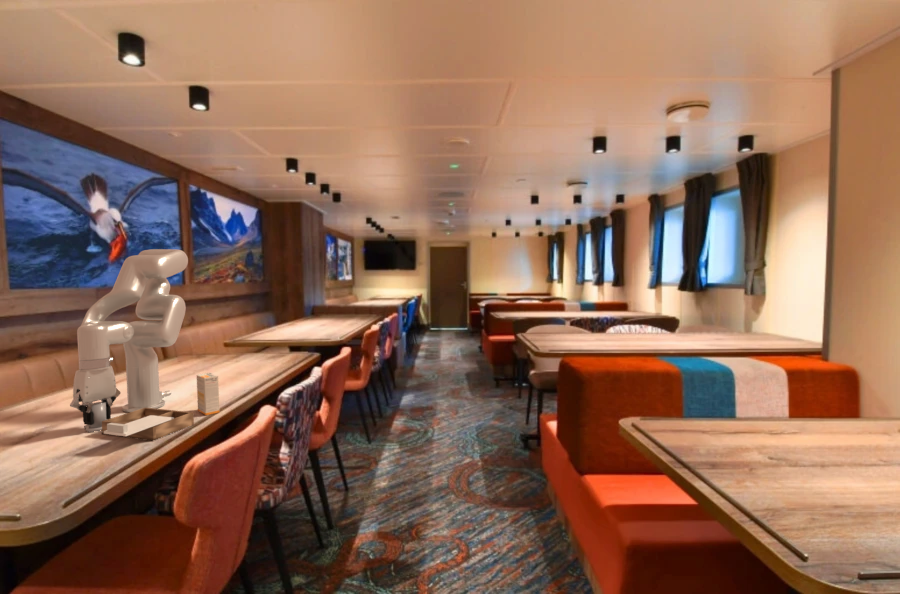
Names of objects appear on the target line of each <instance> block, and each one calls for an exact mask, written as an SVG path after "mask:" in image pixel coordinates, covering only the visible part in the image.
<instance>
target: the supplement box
mask: <svg viewBox="0 0 900 594" xmlns="http://www.w3.org/2000/svg"><path fill="white" fill-rule="evenodd" d="M219 386H220V385H219V375H216V374H214V373H212V372H207V373H206V372H205V373H200V374H196V391H197V392H196V393H197V396H196V397H197V412H200V413H201V414H203V415H204V416H210V415H215V414H217V413H218V414H219V413H220V390H219V389H220V388H219Z"/></svg>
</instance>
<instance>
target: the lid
mask: <svg viewBox="0 0 900 594" xmlns="http://www.w3.org/2000/svg"><path fill="white" fill-rule="evenodd" d="M169 420H171V417H163V416H154V415H150V416H147V417H144V418H141V419H138V420H135V421H132V422H129V423H126V424H118V423H109V424H107V430H106V431H104V434H111V435H110V436H112V435H119V436H128V435H131V434H134V433H136V432H139V431H142V430H145V429H147V428H150V427H153V426H155V425H158V424H161V423H164V422H166V421H169ZM104 434H103V435H104ZM119 436H118V437H119Z"/></svg>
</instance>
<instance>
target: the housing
mask: <svg viewBox="0 0 900 594" xmlns="http://www.w3.org/2000/svg"><path fill="white" fill-rule="evenodd" d="M150 415H154V416H163V417H171V420H169V421H166V422H164V423H161V424H158V425H155V426H153V427H150V428H147V429H145V430H142V431H139V432H136V433H134V434H131V435H128V436H123V437H122V438H127V437H130V439H135V438H138V439H137V440H143V439H147V440H146V441H151V440H155V441H157V440H159V439H158V438H160V439H162V438H164V437H163V436H165V437H166V435H167V436H169V435H171V434H170V433H172V434H174V433H176V431H177V432H178V430H179V431H181V429H182V430H184V429H187V428H189V427H191V426H194V425H195V420H194V419H195V416H194V412H191V411H185V410H184V411H182V410H173V409H163V408H156V409H155V408H142V409H139V410H136V411H133V412H126V413H125V414H120V415H118V416H115V417H112V418H111V419H108V420H104V421H102V431H101V434H102V435H104V431H106V430H107V424H109V423H118V424H126V423H129V422H132V421H135V420H138V419H141V418H144V417H147V416H150ZM188 426H189V427H188ZM186 427H187V428H186ZM183 428H184V429H183ZM173 432H174V433H173ZM168 434H169V435H168ZM108 436H112V435H111V434H109V435H108ZM116 437H119V435H117V436H116ZM161 437H162V438H161ZM156 439H157V440H156Z"/></svg>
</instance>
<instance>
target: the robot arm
mask: <svg viewBox="0 0 900 594" xmlns="http://www.w3.org/2000/svg"><path fill="white" fill-rule="evenodd" d="M188 264H189V258H188V255H187V254H186V252H185V251H183V250H181V249H176V248H175V249H174V248H173V249H170V248H169V249H168V248H166V249H162V248H159V249H154V248H153V249H145V250H142V251H140V252H139V253H138V254H137V255H130V256H128V257H126V258H125V260H124V261H123V263H122V266H121V268H120V270H119V273H118V275H117V278H116V280H115V282H114V285H113V287H112V289H111V290H110V292H108V293H106V294H105V295H104V296H102V297H101V298H99V299H98V300H96V302H95V303H93V305H91V306H90V307H89V308H88V309H87V311H86V313H85V316H84V318H83V320H82V322H81V324H80V325H79V327H77V330H76V334H77V335H76V337H77V353H78V355H77V356H78V369H77V370H75V374H74V377H73V385H72V386H73V387H72V389H73V390H72V398H73V399H72V401H71V402H70V404H69V406H70V408H73V409H77V410H78V411H80V412H81V413H82V422H83V424H84V425H93V424H94V417H93V412H91V408H92V403H95V402H97V401H98V402H99V401H100V402H106V418H107V420H108V419H111V417H112V416H111V415H112V410H111V409H112V406H113V403H114V402H115V400H116V399H117V398H118V397H119V396H120V395H121V393H122V392H121V391H120V390H119V389H118V388H117V382H116V376H115V371H114V369H113V366H112V365H111V362H113V361H114V358H113V357H111V355H110V345H122V344H123V345H122V346H123V348H124V349H123V350H124V356H125V370H126V395H127V403H126V404H125V405H123V406H122V411H123V412H125V413H130V412H133V411H136V410H139V409H142V408H155V409H160V408H161V407H163V406H164V405H166V403H165V402H166V401H165V400H164V397H165V398H166V397H169V396H171V395H172V392H171V390H166V391H163V392H162V391H160V376H159V373H160V372H159V358H158V355H157V353H156V351H155V350H154V348H167V347H171V346H173V345H174V344H175V343H176V342H177V340H178V338H179V335H180V331H181V328H182V325H183V322H184V318H185V315H186V309H187V308H186V302H185V300H184V299H183V297H181V296H180V295H177V294H170V290H171V284H170V282H169V279H167V278H169V277H172V276H174V275H176V274H179V273H181V272H183V271H185V269H186V268H187V267H188ZM135 303H137V304H136V307H135V315H136V316H137V318H139V319H141V320H135V321H129V322H127V321H122V320H121V321H120V320H118V321H117V320H106V319H107V318H108V317H109V316H110V315H112V314H113V313H114V312H116V311H118V310H120V309H122V308H125V307H128V306H130V305H133V304H135Z"/></svg>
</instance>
